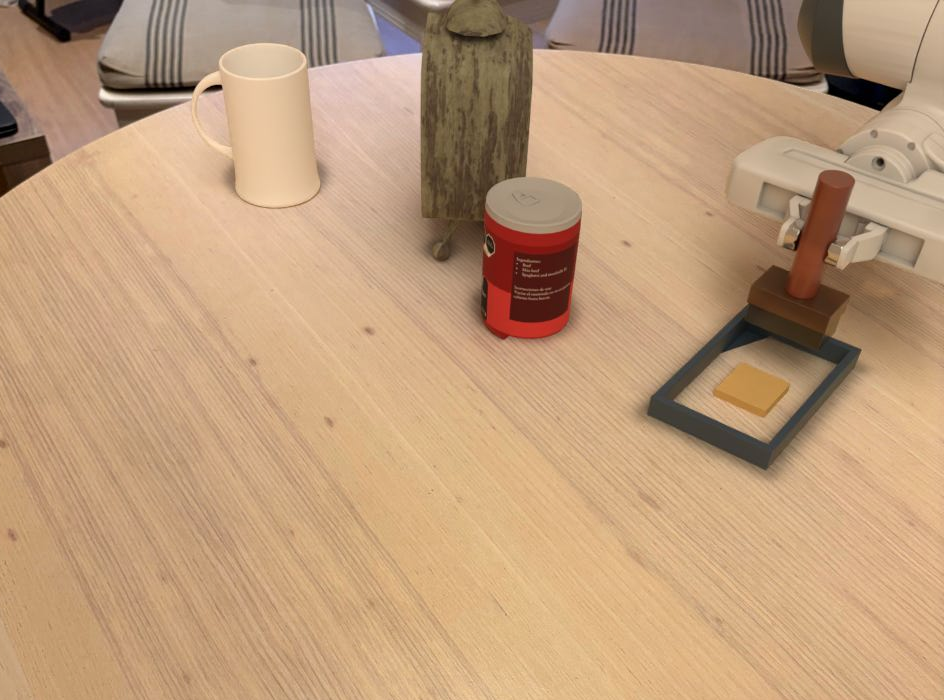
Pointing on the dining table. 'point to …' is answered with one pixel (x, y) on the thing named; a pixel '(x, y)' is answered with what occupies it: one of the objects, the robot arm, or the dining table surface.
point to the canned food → (529, 257)
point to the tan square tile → (752, 389)
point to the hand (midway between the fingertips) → (811, 249)
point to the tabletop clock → (472, 109)
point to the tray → (724, 435)
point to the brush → (806, 273)
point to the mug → (266, 123)
